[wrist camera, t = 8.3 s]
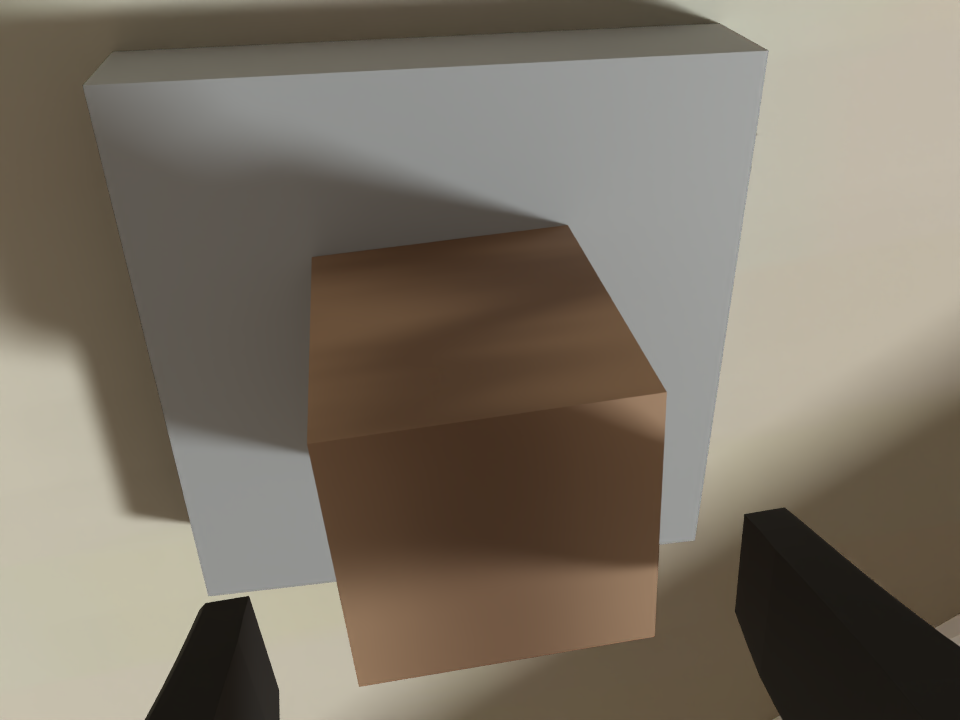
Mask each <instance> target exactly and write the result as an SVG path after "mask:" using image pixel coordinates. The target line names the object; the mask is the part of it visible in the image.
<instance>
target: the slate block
mask: <svg viewBox="0 0 960 720" xmlns="http://www.w3.org/2000/svg"><path fill="white" fill-rule="evenodd" d="M767 58H768V50H767V49H765V48H763V47H761V46H759V45H758V44H756V43H754V42H752V41H750V40H749V39H747V38H745V37H743V36H741V35H740V34H738V33H736V32H734V31H732V30H731V29H729V28H727V27H725V26H723V25H722V24H720V23H714V24H692V25H671V26H650V27H628V28H607V29H586V30H564V31H543V32H522V33H500V34H479V35H457V36H436V37H415V38H393V39H372V40H351V41H329V42H308V43H287V44H265V45H244V46H223V47H201V48H180V49H158V50H137V51H116V52H112V53H111V54H110V55H109V56H108V57H107V58H106V59H105V61H104V62H103V63H102V64H101V65H100V66H99V67H98V69H97V70H96V71H95V72H94V73H93V74H92V75H91V77H90V78H89V79H88V80H87V81H86V82H85V83H84V85H83V89H84V93H85V97H86V101H87V105H88V110H89V114H90V118H91V122H92V126H93V130H94V134H95V138H96V142H97V146H98V150H99V154H100V158H101V162H102V166H103V170H104V174H105V179H106V183H107V187H108V191H109V195H110V199H111V203H112V207H113V211H114V215H115V219H116V223H117V227H118V231H119V235H120V239H121V243H122V248H123V252H124V256H125V260H126V264H127V268H128V272H129V276H130V280H131V284H132V288H133V292H134V296H135V300H136V304H137V308H138V312H139V317H140V321H141V325H142V329H143V333H144V337H145V341H146V345H147V349H148V353H149V357H150V361H151V365H152V369H153V373H154V377H155V381H156V386H157V390H158V394H159V398H160V402H161V406H162V410H163V414H164V418H165V422H166V426H167V430H168V434H169V438H170V442H171V446H172V450H173V455H174V459H175V463H176V467H177V471H178V475H179V479H180V483H181V487H182V491H183V495H184V499H185V503H186V507H187V511H188V515H189V519H190V524H191V528H192V532H193V536H194V540H195V544H196V548H197V552H198V556H199V560H200V564H201V568H202V572H203V576H204V580H205V584H206V588H207V593H208V596H216V595H224V594H233V593H242V592H251V591H259V590H268V589H277V588H285V587H294V586H303V585H312V584H320V583H329V582H337V581H336V577H335V572H334V568H333V563H332V558H331V554H330V549H329V544H328V540H327V535H326V530H325V526H324V521H323V516H322V512H321V507H320V502H319V498H318V493H317V489H316V484H315V479H314V475H313V470H312V465H311V461H310V456H309V451H308V447H307V423H308V383H309V344H310V305H311V266H312V257H316V256H324V255H332V254H340V253H348V252H356V251H364V250H372V249H380V248H388V247H396V246H404V245H412V244H420V243H428V242H436V241H444V240H452V239H460V238H468V237H476V236H484V235H491V234H500V233H508V232H516V231H524V230H532V229H540V228H548V227H556V226H564V225H568V226H569V228H570V230H571V231H572V233H573V235H574V236H575V238H576V240H577V241H578V243H579V245H580V246H581V248H582V250H583V251H584V253H585V255H586V257H587V258H588V260H589V262H590V263H591V265H592V267H593V268H594V270H595V272H596V273H597V275H598V277H599V278H600V280H601V282H602V284H603V285H604V287H605V289H606V290H607V292H608V294H609V295H610V297H611V299H612V300H613V302H614V304H615V305H616V307H617V309H618V311H619V312H620V314H621V316H622V317H623V319H624V321H625V322H626V324H627V326H628V327H629V329H630V331H631V332H632V334H633V336H634V338H635V339H636V341H637V343H638V344H639V346H640V348H641V349H642V351H643V353H644V354H645V356H646V358H647V359H648V361H649V363H650V364H651V366H652V368H653V370H654V371H655V373H656V375H657V376H658V378H659V380H660V381H661V383H662V385H663V386H664V388H665V390H666V391H667V400H666V420H665V440H664V460H663V480H662V500H661V520H660V540H659V545H660V544H669V543H677V542H686V541H695V536H696V529H697V523H698V516H699V509H700V503H701V496H702V489H703V483H704V476H705V469H706V463H707V456H708V449H709V443H710V436H711V430H712V423H713V416H714V410H715V403H716V396H717V390H718V383H719V376H720V370H721V363H722V357H723V350H724V343H725V337H726V330H727V323H728V317H729V310H730V303H731V297H732V290H733V283H734V277H735V270H736V264H737V257H738V250H739V244H740V237H741V230H742V224H743V217H744V210H745V204H746V197H747V191H748V184H749V177H750V171H751V164H752V157H753V151H754V144H755V137H756V131H757V124H758V117H759V111H760V104H761V98H762V91H763V84H764V78H765V71H766V64H767Z"/></svg>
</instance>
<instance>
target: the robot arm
mask: <svg viewBox="0 0 960 720" xmlns="http://www.w3.org/2000/svg"><path fill="white" fill-rule="evenodd" d="M735 613H736V616H737V618H738V621H739V624H740V626H741V629H742V632H743V634H744V637H745V640H746V643H747V645H748V648H749V650H750V653H751V655H752V658H753V660H754V663H755V665H756V668H757V670H758V673H759V676H760V678H761V680H762V682H763V683H764V685H765V687H766V689H767V691H768V693H769V695H770V697H771V699H772V701H773V703H774V705H775V707H776V709H777V710H778V712H779V714H780V716H781V718H782V720H960V646H959V645H957V644H956V643H954V642H953V641H952V640H950V639H949V638H947V637H946V636H944V635H943V634H942V633H940V632H939V631H938V630H936V629H935V628H934V627H932V626H931V625H929V624H928V623H927V622H925V621H924V620H923V619H921V618H920V617H919V616H917V615H916V614H915V613H914V612H912V611H911V610H910V609H908V608H907V607H906V606H905V605H903V604H902V603H901V602H899V601H898V600H897V599H896V598H894V597H893V596H892V595H890V594H889V593H888V592H887V591H885V590H884V589H883V588H881V587H880V586H879V585H878V584H876V583H875V582H874V581H873V580H871V579H870V578H869V577H868V576H866V575H865V574H864V573H863V572H862V571H860V570H859V569H858V568H857V567H856V566H854V565H853V564H852V563H851V562H849V561H848V560H847V559H846V558H845V557H843V556H842V555H841V554H840V553H839V552H837V551H836V550H835V549H834V548H833V547H831V546H830V545H829V544H828V543H827V542H826V541H824V540H823V539H822V538H821V537H820V536H818V535H817V534H816V533H815V532H814V531H812V530H811V529H810V528H809V527H808V526H807V525H805V524H804V523H803V522H802V521H801V520H799V519H798V518H797V517H796V516H794V515H793V514H792V513H791V512H790V511H788V510H787V509H786V508H779V509H773V510H767V511H761V512H755V513H749V514H744V524H743V534H742V544H741V554H740V565H739V575H738V585H737V596H736V606H735ZM145 720H280V718H279V688H278V685H277V682H276V679H275V676H274V673H273V670H272V666H271V663H270V660H269V657H268V654H267V651H266V648H265V645H264V641H263V638H262V635H261V632H260V629H259V626H258V623H257V619H256V616H255V613H254V610H253V607H252V604H251V601H250V597H249V596H246V597H240V598H234V599H228V600H222V601H216V602H210V603H205V604H204V605H203V607H202V608H201V609H200V610H199V612H198V614H197V616H196V619H195V621H194V623H193V625H192V628H191V630H190V632H189V634H188V636H187V638H186V640H185V642H184V645H183V647H182V649H181V651H180V653H179V655H178V657H177V659H176V661H175V663H174V665H173V667H172V669H171V671H170V673H169V675H168V677H167V679H166V681H165V683H164V685H163V687H162V689H161V691H160V693H159V695H158V696H157V698H156V700H155V702H154V704H153V706H152V707H151V709H150V711H149V713H148V715H147V717H146V718H145Z"/></svg>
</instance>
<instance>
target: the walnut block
mask: <svg viewBox="0 0 960 720" xmlns="http://www.w3.org/2000/svg"><path fill="white" fill-rule="evenodd" d="M666 400H667V391H666V390H665V388H664V386H663V385H662V383H661V381H660V380H659V378H658V376H657V375H656V373H655V371H654V370H653V368H652V366H651V364H650V363H649V361H648V359H647V358H646V356H645V354H644V353H643V351H642V349H641V348H640V346H639V344H638V343H637V341H636V339H635V338H634V336H633V334H632V332H631V331H630V329H629V327H628V326H627V324H626V322H625V321H624V319H623V317H622V316H621V314H620V312H619V311H618V309H617V307H616V305H615V304H614V302H613V300H612V299H611V297H610V295H609V294H608V292H607V290H606V289H605V287H604V285H603V284H602V282H601V280H600V278H599V277H598V275H597V273H596V272H595V270H594V268H593V267H592V265H591V263H590V262H589V260H588V258H587V257H586V255H585V253H584V251H583V250H582V248H581V246H580V245H579V243H578V241H577V240H576V238H575V236H574V235H573V233H572V231H571V230H570V228H569V226H568V225H564V226H556V227H548V228H540V229H532V230H524V231H516V232H508V233H500V234H491V235H484V236H476V237H468V238H460V239H452V240H444V241H436V242H428V243H420V244H412V245H404V246H396V247H388V248H380V249H372V250H364V251H356V252H348V253H340V254H332V255H324V256H316V257H312V266H311V305H310V344H309V383H308V423H307V447H308V451H309V456H310V461H311V465H312V470H313V475H314V479H315V484H316V489H317V493H318V498H319V502H320V507H321V512H322V516H323V521H324V526H325V530H326V535H327V540H328V544H329V549H330V554H331V558H332V563H333V568H334V572H335V577H336V581H337V586H338V591H339V595H340V600H341V605H342V609H343V614H344V619H345V623H346V628H347V633H348V637H349V642H350V647H351V651H352V656H353V661H354V665H355V670H356V674H357V679H358V684H359V687H361V686H367V685H373V684H379V683H384V682H390V681H396V680H402V679H408V678H414V677H420V676H426V675H432V674H438V673H444V672H449V671H455V670H461V669H467V668H473V667H479V666H485V665H491V664H497V663H503V662H509V661H514V660H520V659H526V658H532V657H538V656H544V655H550V654H556V653H562V652H568V651H574V650H579V649H585V648H591V647H597V646H603V645H609V644H615V643H621V642H627V641H633V640H639V639H644V638H650V637H655V620H656V600H657V580H658V560H659V540H660V520H661V500H662V480H663V460H664V440H665V420H666Z"/></svg>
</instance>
